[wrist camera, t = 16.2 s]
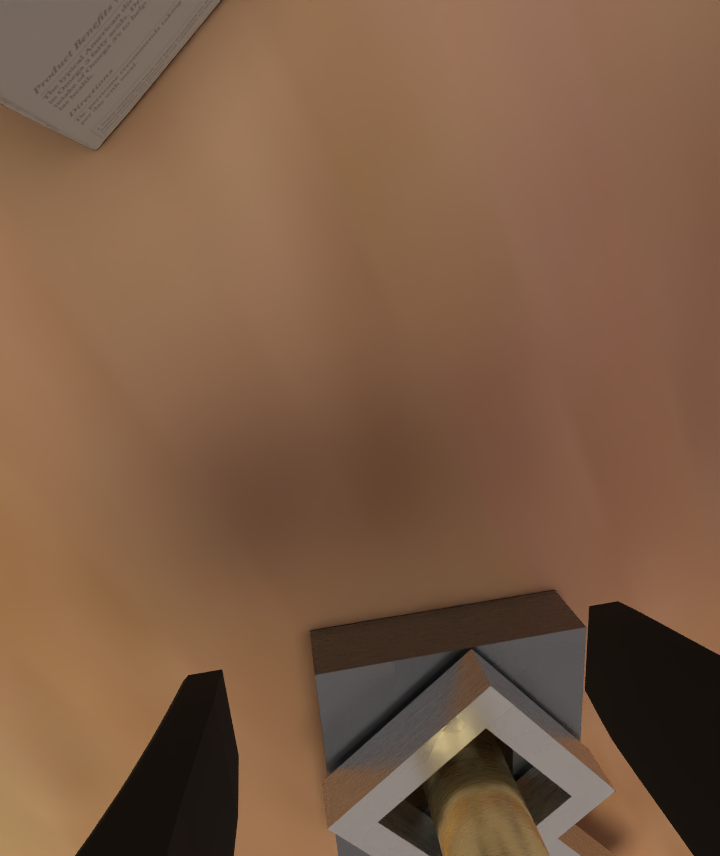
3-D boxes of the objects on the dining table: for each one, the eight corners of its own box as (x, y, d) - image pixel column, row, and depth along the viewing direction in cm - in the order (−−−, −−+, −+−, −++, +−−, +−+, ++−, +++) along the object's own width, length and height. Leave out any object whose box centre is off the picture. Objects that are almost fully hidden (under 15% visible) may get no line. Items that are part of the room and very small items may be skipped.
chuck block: (554, 590, 23) (585, 627, 21) (549, 775, 26) (575, 826, 24) (310, 630, 22) (315, 675, 20) (334, 820, 25) (341, 878, 23)
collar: (709, 851, 26) (748, 904, 23) (586, 949, 26) (613, 1009, 24) (469, 644, 20) (493, 690, 18) (322, 776, 21) (327, 834, 19)
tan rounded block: (466, 649, 23) (580, 878, 15) (484, 743, 25) (596, 998, 16) (391, 672, 23) (463, 917, 14) (415, 765, 25) (492, 1035, 16)
